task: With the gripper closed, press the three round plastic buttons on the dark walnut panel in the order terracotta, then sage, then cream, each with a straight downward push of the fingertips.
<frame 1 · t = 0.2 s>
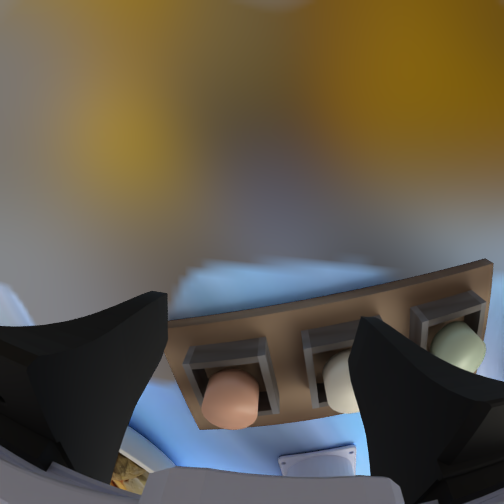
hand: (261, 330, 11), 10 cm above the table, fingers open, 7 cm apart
sage button: (457, 351, 17), point 4 cm above the table, slide at 0.0 cm
panel: (341, 356, 22), on the table
terracotta button: (231, 399, 19), point 4 cm above the table, slide at 0.0 cm
cream button: (351, 381, 18), point 4 cm above the table, slide at 0.0 cm
bowl: (92, 452, 31), on the table
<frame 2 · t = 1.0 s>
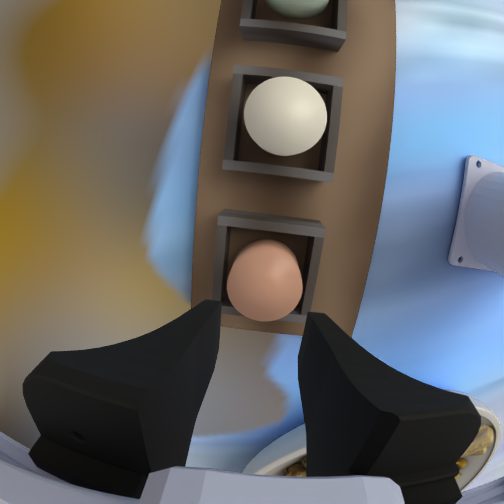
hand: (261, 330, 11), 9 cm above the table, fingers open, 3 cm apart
panel: (298, 129, 18), on the table
terracotta button: (265, 278, 16), point 4 cm above the table, slide at 0.0 cm
cream button: (284, 118, 14), point 4 cm above the table, slide at 0.0 cm
bowl: (368, 466, 27), on the table
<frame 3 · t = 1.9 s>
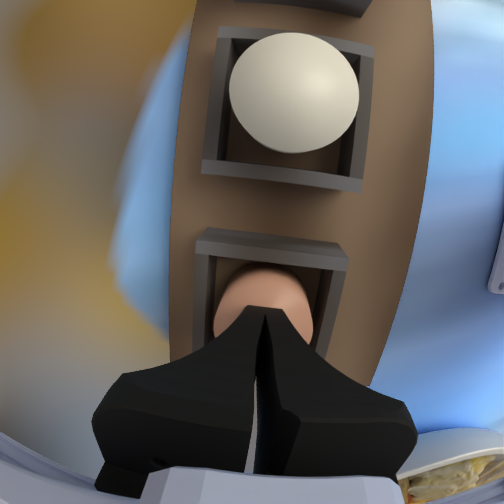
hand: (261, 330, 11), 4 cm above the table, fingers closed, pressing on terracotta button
panel: (309, 118, 13), on the table
terracotta button: (264, 314, 12), point 3 cm above the table, slide at 1.2 cm, touching gripper
cream button: (292, 97, 9), point 4 cm above the table, slide at 0.0 cm
bowl: (376, 500, 22), on the table
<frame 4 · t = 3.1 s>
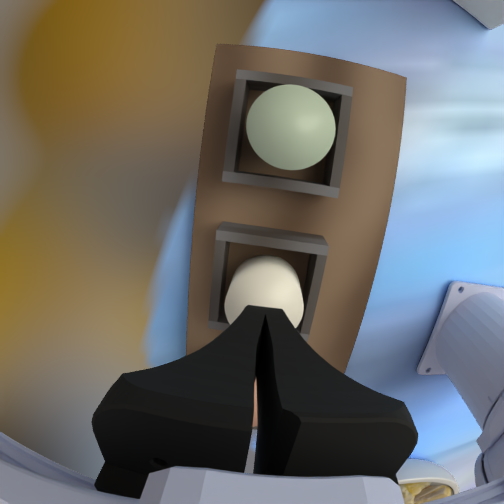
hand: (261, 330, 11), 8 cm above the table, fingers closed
sage button: (289, 129, 13), point 4 cm above the table, slide at 0.0 cm
panel: (282, 270, 19), on the table
terracotta button: (247, 396, 19), point 3 cm above the table, slide at 1.3 cm
cream button: (264, 297, 15), point 4 cm above the table, slide at 0.0 cm
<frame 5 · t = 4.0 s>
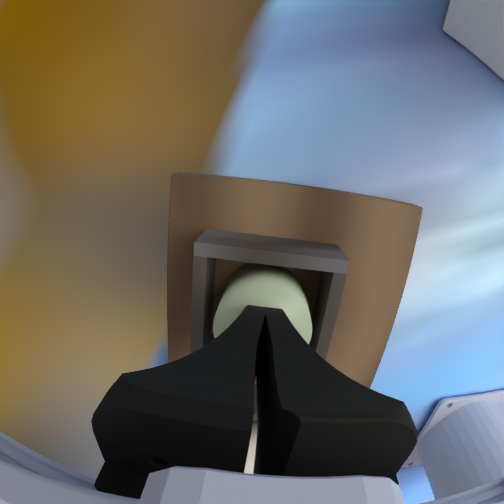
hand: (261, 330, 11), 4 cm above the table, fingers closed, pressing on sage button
milk carton: (494, 30, 10), on the table
sage button: (263, 315, 12), point 3 cm above the table, slide at 1.3 cm, touching gripper
panel: (264, 406, 17), on the table
cream button: (242, 458, 13), point 4 cm above the table, slide at 0.0 cm
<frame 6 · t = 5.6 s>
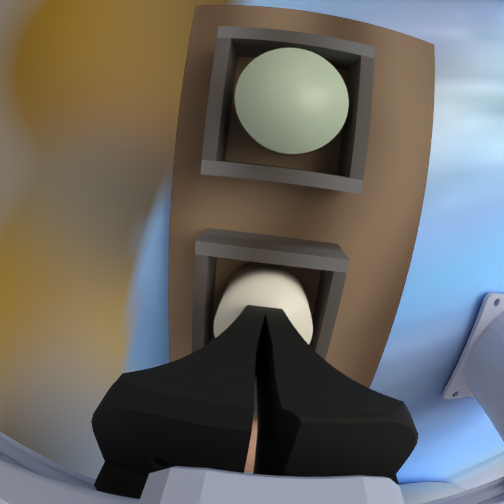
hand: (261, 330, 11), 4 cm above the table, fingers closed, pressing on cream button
sage button: (290, 104, 10), point 3 cm above the table, slide at 1.3 cm
panel: (286, 288, 15), on the table
terracotta button: (245, 438, 15), point 3 cm above the table, slide at 1.3 cm
cream button: (264, 315, 12), point 3 cm above the table, slide at 1.2 cm, touching gripper
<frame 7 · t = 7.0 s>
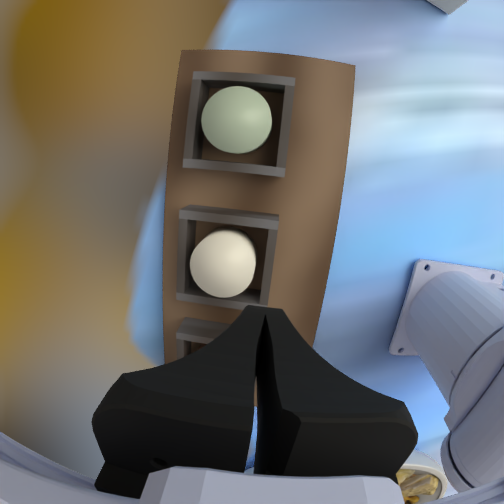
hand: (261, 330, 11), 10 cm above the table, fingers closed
sage button: (238, 121, 16), point 3 cm above the table, slide at 1.3 cm
panel: (247, 249, 21), on the table
terracotta button: (217, 368, 21), point 3 cm above the table, slide at 1.3 cm
cream button: (225, 260, 18), point 3 cm above the table, slide at 1.3 cm
bowl: (327, 495, 30), on the table
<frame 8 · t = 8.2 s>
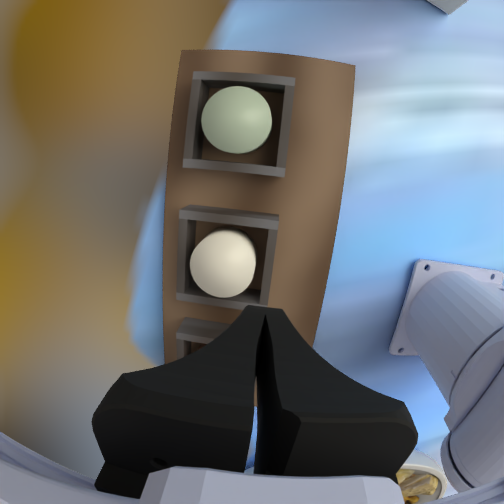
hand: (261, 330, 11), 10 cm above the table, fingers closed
sage button: (238, 121, 16), point 3 cm above the table, slide at 1.3 cm
panel: (247, 249, 21), on the table
terracotta button: (217, 368, 21), point 3 cm above the table, slide at 1.3 cm
cream button: (225, 260, 18), point 3 cm above the table, slide at 1.3 cm
bowl: (327, 495, 30), on the table
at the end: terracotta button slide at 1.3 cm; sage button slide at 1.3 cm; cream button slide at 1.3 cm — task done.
